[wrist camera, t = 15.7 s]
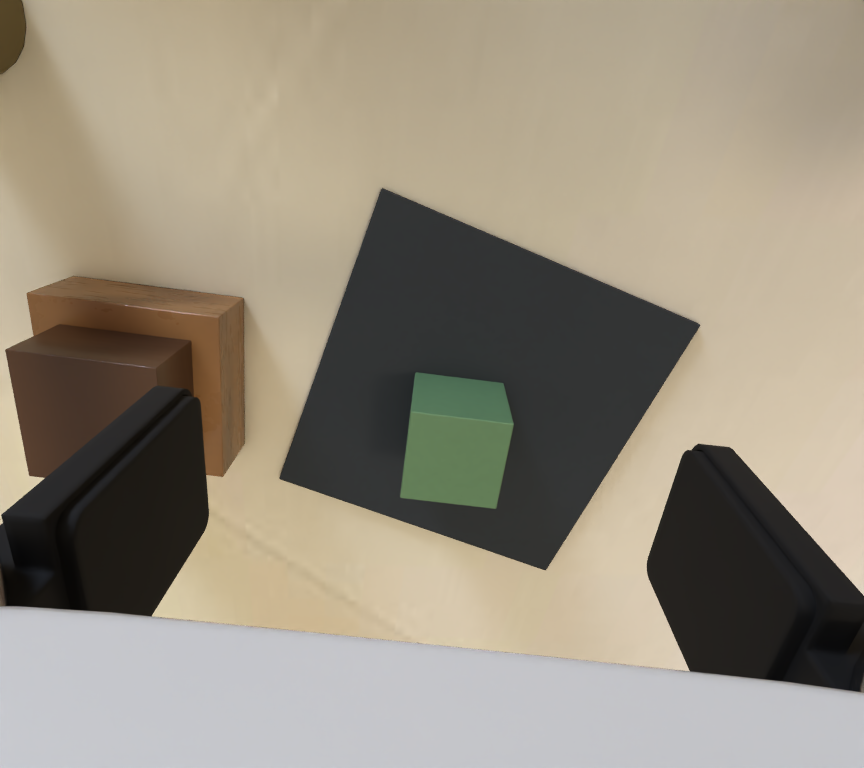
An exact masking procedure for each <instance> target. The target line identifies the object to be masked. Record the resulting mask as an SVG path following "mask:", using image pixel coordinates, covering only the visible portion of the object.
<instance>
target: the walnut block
mask: <svg viewBox="0 0 864 768" xmlns="http://www.w3.org/2000/svg"><path fill="white" fill-rule="evenodd" d="M5 351H6V356H7V361H8V367H9V372H10V377H11V382H12V388H13V393H14V398H15V403H16V409H17V414H18V419H19V424H20V430H21V435H22V440H23V445H24V451H25V456H26V461H27V466H28V472H29V476H35V477H43V478H46V477H47V476H48V475H50V474H51V473H52V472H53V471H54V470H55V469H57V468H58V467H59V466H60V465H61V464H63V463H64V462H65V461H66V460H67V459H69V458H70V457H71V456H72V455H73V454H75V453H76V452H77V451H78V450H79V449H80V448H82V447H83V446H84V445H85V444H86V443H88V442H89V441H90V440H91V439H92V438H94V437H95V436H96V435H97V434H98V433H99V432H101V431H102V430H103V429H104V428H105V427H107V426H108V425H109V424H110V423H111V422H113V421H114V420H115V419H116V418H117V417H119V416H120V415H121V414H122V413H123V412H124V411H126V410H127V409H128V408H129V407H130V406H132V405H133V404H134V403H135V402H136V401H138V400H139V399H140V398H141V397H142V396H144V395H145V394H146V393H147V392H148V391H149V390H151V389H152V388H153V387H155V386H165V387H175V388H184V389H188V390H189V391H190V392H191V394H192V397H194V389H193V368H192V347H191V341H190V340H182V339H174V338H166V337H158V336H150V335H142V334H134V333H126V332H118V331H110V330H102V329H94V328H86V327H78V326H70V325H62V324H58V325H56V326H54V327H52V328H50V329H48V330H46V331H44V332H41V333H39V334H37V335H35V336H33V337H31V338H29V339H27V340H25V341H22V342H20V343H18V344H16V345H14V346H12V347H10V348H8V349H6V350H5Z"/></svg>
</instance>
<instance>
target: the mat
mask: <svg viewBox="0 0 864 768" xmlns="http://www.w3.org/2000/svg"><path fill="white" fill-rule="evenodd" d="M699 327H700V325H699V324H698V323H696V322H694V321H691V320H689V319H687V318H684V317H682V316H680V315H677V314H675V313H673V312H670V311H668V310H666V309H663V308H661V307H659V306H656V305H654V304H652V303H649V302H647V301H645V300H642V299H640V298H638V297H635V296H633V295H631V294H628V293H626V292H624V291H621V290H619V289H617V288H614V287H612V286H610V285H607V284H605V283H603V282H600V281H598V280H596V279H593V278H591V277H589V276H586V275H584V274H582V273H579V272H577V271H575V270H572V269H570V268H568V267H565V266H563V265H561V264H558V263H556V262H554V261H551V260H549V259H547V258H544V257H542V256H540V255H537V254H535V253H533V252H530V251H528V250H526V249H523V248H521V247H519V246H516V245H514V244H512V243H509V242H507V241H505V240H502V239H500V238H498V237H495V236H493V235H491V234H488V233H486V232H484V231H481V230H479V229H477V228H474V227H472V226H470V225H467V224H465V223H463V222H460V221H458V220H456V219H453V218H451V217H449V216H446V215H444V214H442V213H439V212H437V211H435V210H432V209H430V208H428V207H425V206H423V205H421V204H418V203H416V202H414V201H411V200H409V199H407V198H404V197H402V196H400V195H397V194H395V193H393V192H390V191H388V190H386V189H383V188H382V189H381V192H380V195H379V197H378V200H377V203H376V206H375V209H374V212H373V214H372V217H371V220H370V223H369V226H368V229H367V231H366V234H365V237H364V240H363V243H362V246H361V248H360V251H359V254H358V257H357V260H356V263H355V265H354V268H353V271H352V274H351V277H350V280H349V282H348V285H347V288H346V291H345V294H344V297H343V299H342V302H341V305H340V308H339V311H338V314H337V316H336V319H335V322H334V325H333V328H332V331H331V333H330V336H329V339H328V342H327V345H326V348H325V350H324V353H323V356H322V359H321V362H320V365H319V367H318V370H317V373H316V376H315V379H314V382H313V384H312V387H311V390H310V393H309V396H308V399H307V402H306V404H305V407H304V410H303V413H302V416H301V419H300V421H299V424H298V427H297V430H296V433H295V436H294V438H293V441H292V444H291V447H290V450H289V453H288V455H287V458H286V461H285V464H284V467H283V470H282V472H281V475H280V479H281V480H284V481H287V482H290V483H293V484H296V485H299V486H302V487H305V488H307V489H310V490H313V491H316V492H319V493H322V494H325V495H328V496H331V497H334V498H337V499H339V500H342V501H345V502H348V503H351V504H354V505H357V506H360V507H363V508H366V509H369V510H371V511H374V512H377V513H380V514H383V515H386V516H389V517H392V518H395V519H398V520H401V521H403V522H406V523H409V524H412V525H415V526H418V527H421V528H424V529H427V530H430V531H433V532H435V533H438V534H441V535H444V536H447V537H450V538H453V539H456V540H459V541H462V542H465V543H467V544H470V545H473V546H476V547H479V548H482V549H485V550H488V551H491V552H494V553H496V554H499V555H502V556H505V557H508V558H511V559H514V560H517V561H520V562H523V563H526V564H528V565H531V566H534V567H537V568H540V569H543V570H546V569H547V568H548V566H549V564H550V563H551V561H552V560H553V558H554V557H555V555H556V553H557V552H558V550H559V549H560V547H561V545H562V544H563V542H564V541H565V539H566V538H567V536H568V534H569V533H570V531H571V530H572V528H573V526H574V525H575V523H576V522H577V520H578V519H579V517H580V515H581V514H582V512H583V511H584V509H585V507H586V506H587V504H588V503H589V501H590V499H591V498H592V496H593V495H594V493H595V492H596V490H597V488H598V487H599V485H600V484H601V482H602V480H603V479H604V477H605V476H606V474H607V473H608V471H609V469H610V468H611V466H612V465H613V463H614V461H615V460H616V458H617V457H618V455H619V454H620V452H621V450H622V449H623V447H624V446H625V444H626V442H627V441H628V439H629V438H630V436H631V435H632V433H633V431H634V430H635V428H636V427H637V425H638V423H639V422H640V420H641V419H642V417H643V415H644V414H645V412H646V411H647V409H648V408H649V406H650V404H651V403H652V401H653V400H654V398H655V396H656V395H657V393H658V392H659V390H660V389H661V387H662V385H663V384H664V382H665V381H666V379H667V377H668V376H669V374H670V373H671V371H672V370H673V368H674V366H675V365H676V363H677V362H678V360H679V358H680V357H681V355H682V354H683V352H684V351H685V349H686V347H687V346H688V344H689V343H690V341H691V339H692V338H693V336H694V335H695V333H696V331H697V330H698V328H699ZM416 372H417V373H426V374H434V375H442V376H450V377H458V378H466V379H474V380H482V381H490V382H498V383H503V384H504V388H505V392H506V396H507V400H508V404H509V407H510V411H511V415H512V419H513V423H514V426H513V431H512V436H511V440H510V445H509V450H508V455H507V460H506V464H505V469H504V474H503V479H502V484H501V488H500V493H499V498H498V503H497V508H496V509H492V508H484V507H475V506H466V505H458V504H449V503H441V502H432V501H423V500H415V499H406V498H400V493H401V484H402V476H403V468H404V460H405V451H406V443H407V435H408V427H409V419H410V411H411V403H412V395H413V387H414V378H415V373H416Z"/></svg>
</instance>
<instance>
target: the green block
mask: <svg viewBox="0 0 864 768" xmlns="http://www.w3.org/2000/svg"><path fill="white" fill-rule="evenodd" d="M513 426H514V423H513V419H512V415H511V411H510V407H509V404H508V400H507V396H506V392H505V388H504V384H503V383H498V382H490V381H482V380H474V379H466V378H458V377H450V376H442V375H434V374H426V373H417V372H416V373H415V378H414V387H413V395H412V403H411V411H410V419H409V427H408V435H407V443H406V451H405V460H404V468H403V476H402V484H401V493H400V498H406V499H415V500H423V501H432V502H441V503H449V504H458V505H466V506H475V507H484V508H492V509H496V508H497V503H498V498H499V493H500V488H501V484H502V479H503V474H504V469H505V464H506V460H507V455H508V450H509V445H510V440H511V436H512V431H513Z"/></svg>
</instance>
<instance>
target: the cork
mask: <svg viewBox="0 0 864 768" xmlns="http://www.w3.org/2000/svg"><path fill="white" fill-rule="evenodd" d="M25 30H26V23H25V17H24V11H23V5H22V2H21V0H0V74H2V73H3V72H5V71H6V70H7V69H8V68H9V67H11V66H12V65H13V64H14V63H15V62H16V60H17V58H18V56H19V54H20V52H21V50H22V48H23V46H24V38H25Z"/></svg>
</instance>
